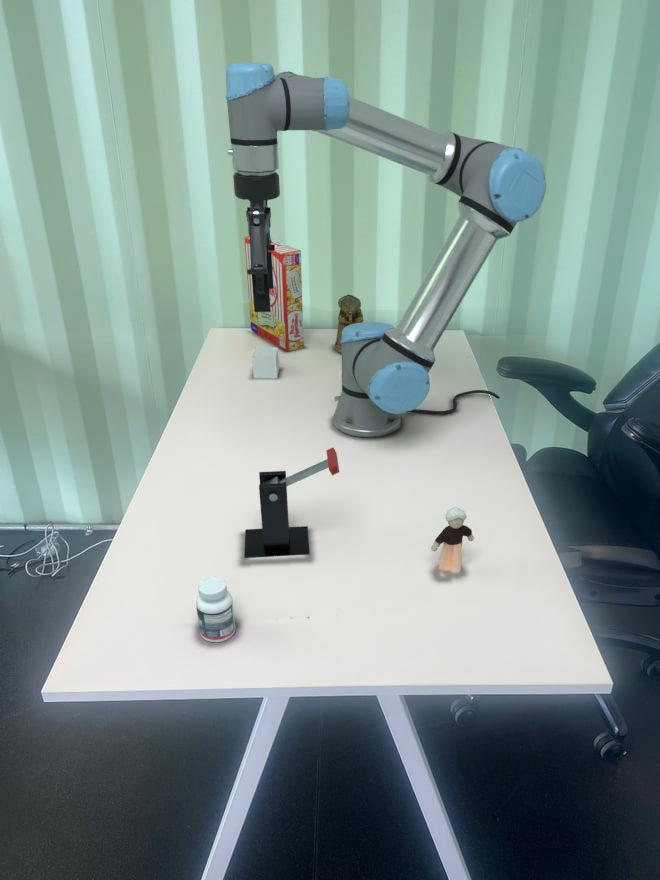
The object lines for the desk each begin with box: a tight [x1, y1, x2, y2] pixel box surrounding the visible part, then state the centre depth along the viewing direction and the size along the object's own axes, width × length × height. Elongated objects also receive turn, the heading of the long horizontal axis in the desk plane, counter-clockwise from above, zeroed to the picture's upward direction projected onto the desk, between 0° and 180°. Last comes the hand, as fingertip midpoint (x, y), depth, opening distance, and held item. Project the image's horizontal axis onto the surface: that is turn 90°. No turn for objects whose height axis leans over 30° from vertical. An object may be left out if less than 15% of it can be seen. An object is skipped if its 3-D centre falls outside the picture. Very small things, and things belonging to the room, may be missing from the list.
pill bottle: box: [195, 576, 237, 643], centre depth 111 cm, size 5×5×9 cm
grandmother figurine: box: [430, 506, 475, 574], centre depth 124 cm, size 8×4×13 cm, turn 126°
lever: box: [263, 447, 340, 488], centre depth 125 cm, size 13×6×2 cm, turn 97°
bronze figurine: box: [334, 294, 365, 354], centre depth 206 cm, size 9×14×18 cm, turn 179°
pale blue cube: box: [251, 346, 280, 379], centre depth 195 cm, size 6×6×6 cm
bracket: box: [243, 470, 311, 559], centre depth 128 cm, size 11×8×14 cm
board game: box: [243, 235, 305, 353], centre depth 210 cm, size 20×6×27 cm, turn 37°
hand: (264, 299), depth 136 cm, fingers open, 13 cm apart
